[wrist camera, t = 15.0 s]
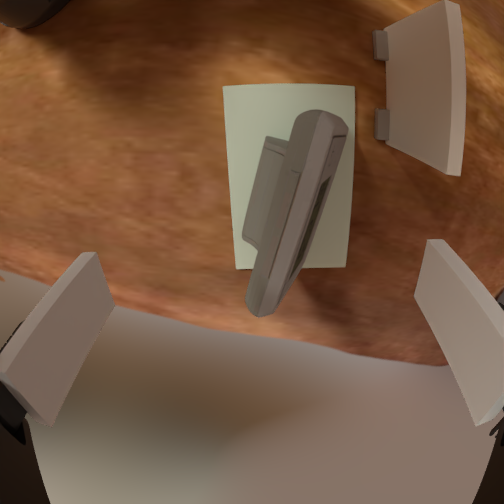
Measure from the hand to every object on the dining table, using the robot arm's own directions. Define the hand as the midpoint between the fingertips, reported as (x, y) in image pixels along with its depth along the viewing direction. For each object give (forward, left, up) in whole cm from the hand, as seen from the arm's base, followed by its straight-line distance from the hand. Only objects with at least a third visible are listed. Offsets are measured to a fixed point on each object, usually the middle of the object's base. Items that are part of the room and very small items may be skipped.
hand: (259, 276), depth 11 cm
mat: (+2, +2, -20) cm, 20 cm away
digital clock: (+2, +3, -19) cm, 20 cm away
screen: (-8, +12, -20) cm, 25 cm away
